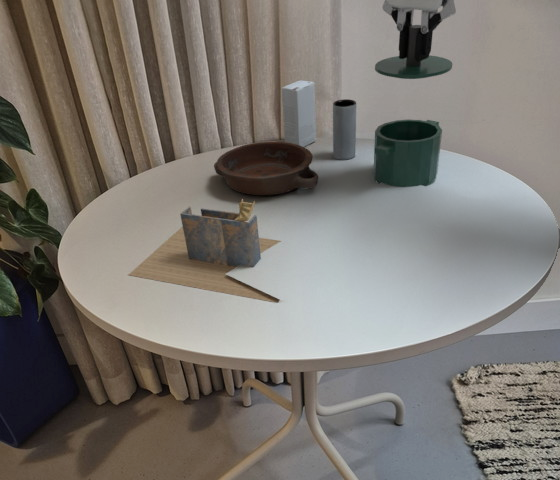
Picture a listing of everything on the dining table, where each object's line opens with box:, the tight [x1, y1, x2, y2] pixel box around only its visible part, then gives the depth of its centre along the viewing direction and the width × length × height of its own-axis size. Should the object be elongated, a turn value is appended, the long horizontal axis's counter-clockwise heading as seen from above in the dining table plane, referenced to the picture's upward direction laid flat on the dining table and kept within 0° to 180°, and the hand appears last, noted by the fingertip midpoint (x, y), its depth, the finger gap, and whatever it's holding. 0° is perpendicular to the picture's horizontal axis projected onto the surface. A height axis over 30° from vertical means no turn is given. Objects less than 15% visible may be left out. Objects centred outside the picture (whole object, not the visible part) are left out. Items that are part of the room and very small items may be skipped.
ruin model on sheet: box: [128, 198, 282, 303], centre depth 86 cm, size 25×16×10 cm, turn 67°
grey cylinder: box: [332, 98, 357, 161], centre depth 115 cm, size 4×4×10 cm
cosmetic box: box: [281, 79, 317, 148], centre depth 121 cm, size 6×4×12 cm
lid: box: [374, 24, 453, 80], centre depth 94 cm, size 13×13×7 cm
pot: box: [372, 119, 443, 188], centre depth 106 cm, size 12×17×8 cm
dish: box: [213, 140, 319, 196], centre depth 109 cm, size 18×22×5 cm
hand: (413, 57), depth 95 cm, fingers closed on lid, 2 cm apart
